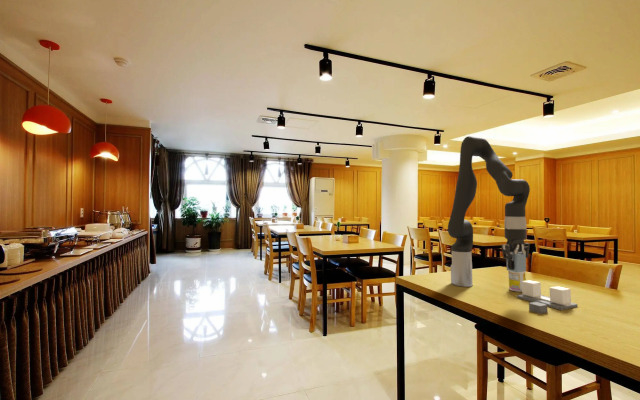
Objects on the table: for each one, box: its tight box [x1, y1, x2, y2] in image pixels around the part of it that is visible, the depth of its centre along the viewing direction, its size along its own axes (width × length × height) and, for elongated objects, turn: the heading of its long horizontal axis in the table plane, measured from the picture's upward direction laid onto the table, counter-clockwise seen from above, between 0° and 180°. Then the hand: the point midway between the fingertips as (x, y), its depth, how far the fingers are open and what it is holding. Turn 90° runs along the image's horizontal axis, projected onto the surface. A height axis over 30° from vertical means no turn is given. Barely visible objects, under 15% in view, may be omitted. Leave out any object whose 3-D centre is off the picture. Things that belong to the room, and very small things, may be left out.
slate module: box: [506, 253, 527, 272], centre depth 118 cm, size 4×5×7 cm
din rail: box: [516, 279, 579, 311], centre depth 119 cm, size 17×10×7 cm, turn 20°
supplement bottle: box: [507, 270, 527, 293], centre depth 136 cm, size 7×7×13 cm
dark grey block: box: [528, 301, 548, 315], centre depth 109 cm, size 4×4×3 cm
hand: (516, 268), depth 118 cm, fingers closed on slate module, 5 cm apart
